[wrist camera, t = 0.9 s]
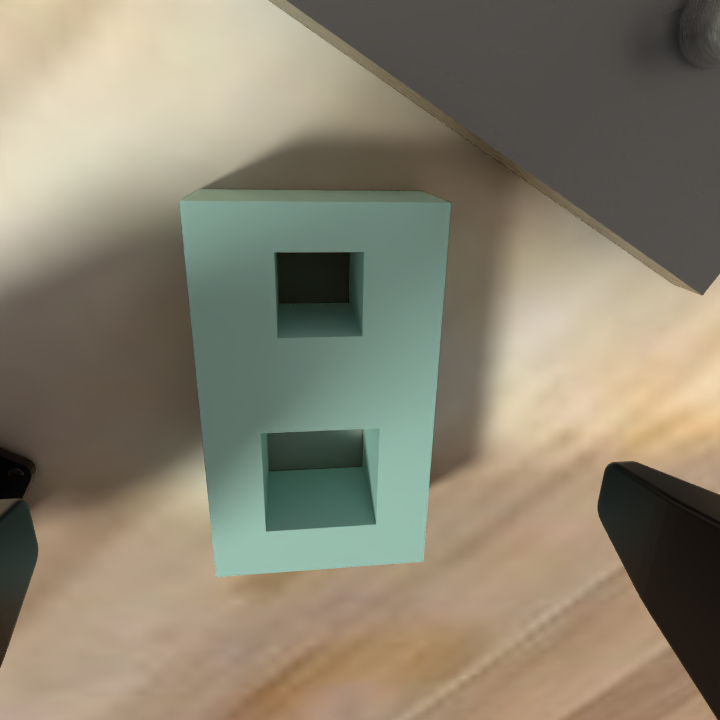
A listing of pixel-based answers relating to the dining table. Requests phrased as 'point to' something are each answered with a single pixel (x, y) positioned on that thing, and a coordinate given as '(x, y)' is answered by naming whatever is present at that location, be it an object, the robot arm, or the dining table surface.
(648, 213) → the post base
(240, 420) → the teal hollow block
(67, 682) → the dining table surface
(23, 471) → the robot arm
